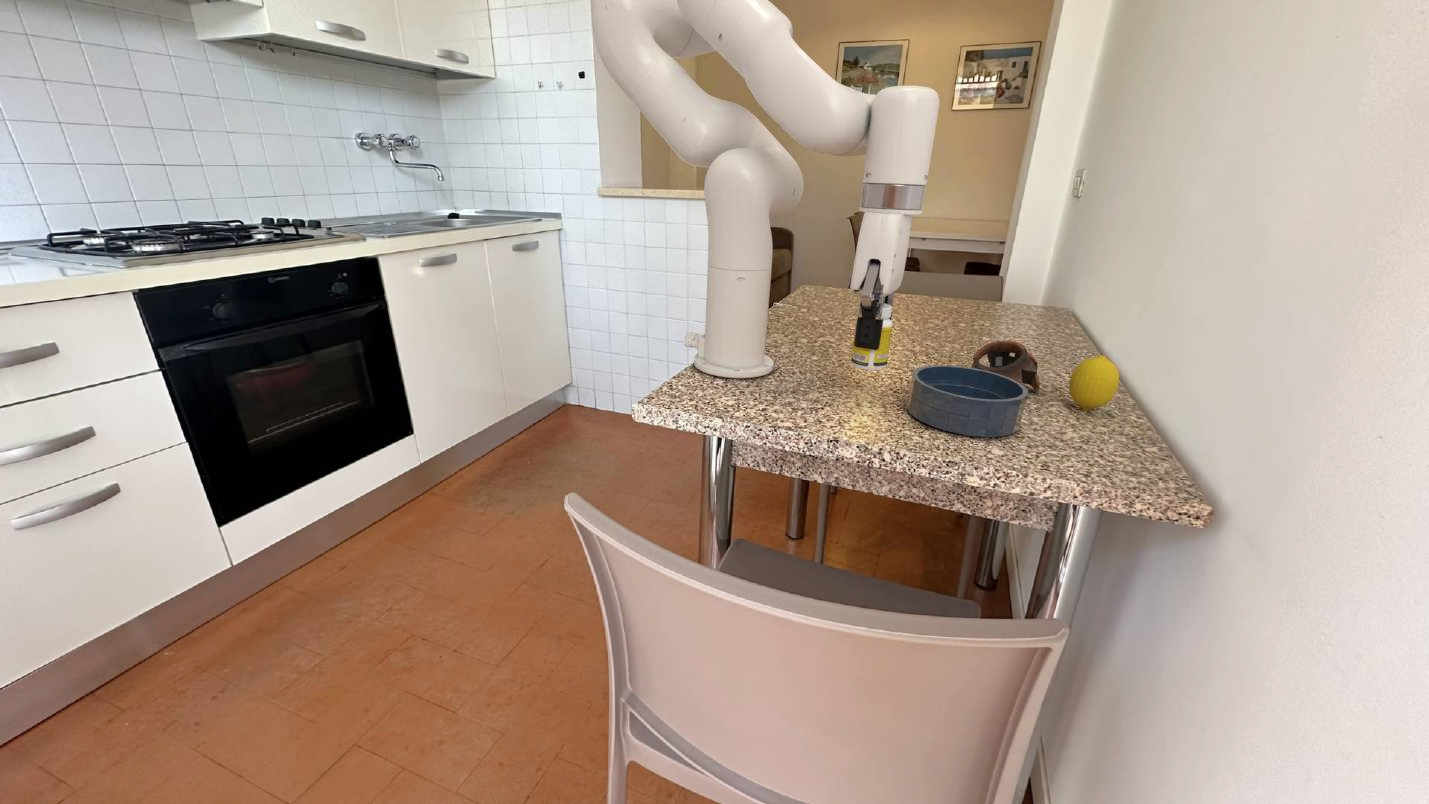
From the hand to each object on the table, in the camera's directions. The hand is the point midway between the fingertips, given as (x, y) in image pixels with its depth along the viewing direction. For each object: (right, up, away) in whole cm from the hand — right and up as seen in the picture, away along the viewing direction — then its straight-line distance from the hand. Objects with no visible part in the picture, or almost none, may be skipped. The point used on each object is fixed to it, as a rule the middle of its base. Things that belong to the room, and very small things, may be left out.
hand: (871, 342), depth 77 cm
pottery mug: (+22, -6, +10) cm, 25 cm away
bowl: (+11, -10, -2) cm, 15 cm away
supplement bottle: (0, -3, +1) cm, 4 cm away
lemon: (+30, -9, +2) cm, 32 cm away
